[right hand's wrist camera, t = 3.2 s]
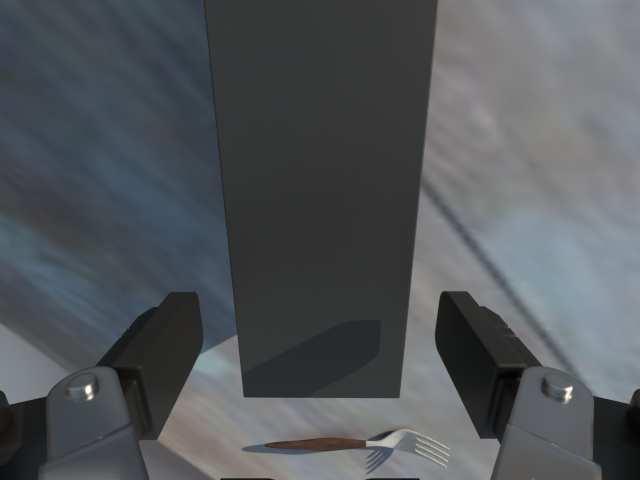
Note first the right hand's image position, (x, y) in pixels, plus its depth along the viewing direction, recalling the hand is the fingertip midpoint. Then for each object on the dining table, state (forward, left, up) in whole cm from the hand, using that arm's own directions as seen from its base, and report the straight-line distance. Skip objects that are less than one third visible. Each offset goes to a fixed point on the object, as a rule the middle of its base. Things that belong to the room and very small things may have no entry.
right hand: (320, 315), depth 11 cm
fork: (-22, -3, -14) cm, 26 cm away
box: (+9, 0, -14) cm, 16 cm away
